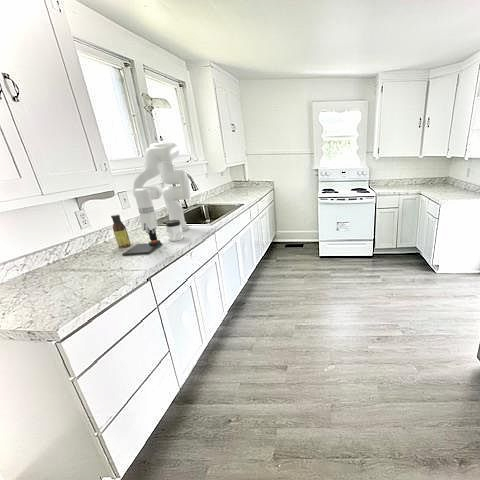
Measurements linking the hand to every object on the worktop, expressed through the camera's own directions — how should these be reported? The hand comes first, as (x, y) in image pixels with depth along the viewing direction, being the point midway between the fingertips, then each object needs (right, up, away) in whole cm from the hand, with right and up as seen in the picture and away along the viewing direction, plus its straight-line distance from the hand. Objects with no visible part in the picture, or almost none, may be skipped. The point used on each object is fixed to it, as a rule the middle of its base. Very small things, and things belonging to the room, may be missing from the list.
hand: (153, 239), depth 158 cm
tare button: (0, -2, +1) cm, 2 cm away
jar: (+6, 0, +14) cm, 15 cm away
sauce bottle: (-20, -4, +3) cm, 20 cm away
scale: (-4, -6, -4) cm, 8 cm away
